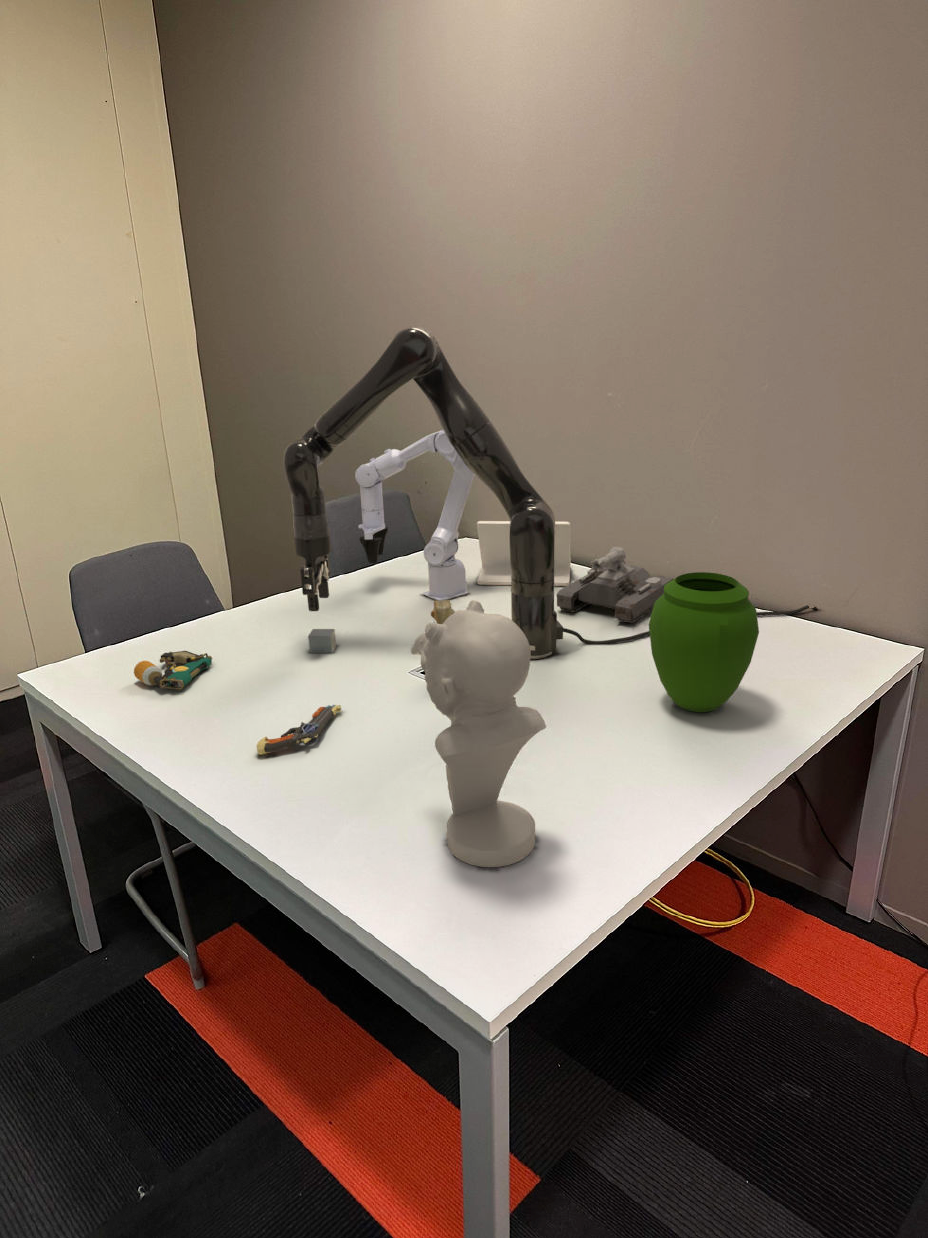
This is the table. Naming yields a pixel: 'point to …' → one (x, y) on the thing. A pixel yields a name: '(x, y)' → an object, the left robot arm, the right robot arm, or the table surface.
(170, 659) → the spray gun
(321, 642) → the block
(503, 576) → the tablet stand
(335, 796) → the table surface
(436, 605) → the sculpture
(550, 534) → the right robot arm
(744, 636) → the vase
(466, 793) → the bust sculpture
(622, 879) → the table surface
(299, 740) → the toy gun
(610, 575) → the toy
